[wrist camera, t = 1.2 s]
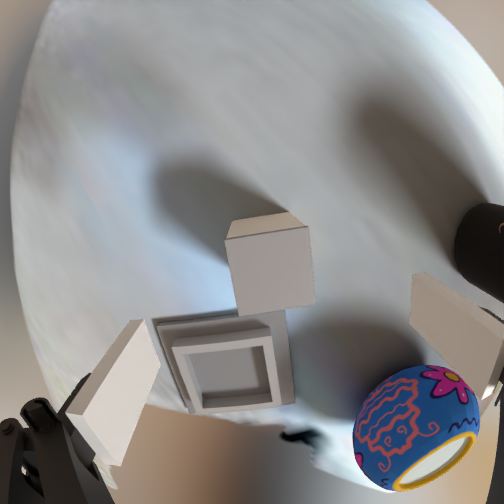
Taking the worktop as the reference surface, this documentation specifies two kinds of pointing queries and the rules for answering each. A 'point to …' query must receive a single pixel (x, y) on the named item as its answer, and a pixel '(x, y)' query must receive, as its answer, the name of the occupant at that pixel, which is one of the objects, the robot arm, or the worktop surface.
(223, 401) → the socket plate
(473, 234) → the coffee jar
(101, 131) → the worktop surface
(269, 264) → the plug block
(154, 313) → the worktop surface
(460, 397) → the ceramic pot
